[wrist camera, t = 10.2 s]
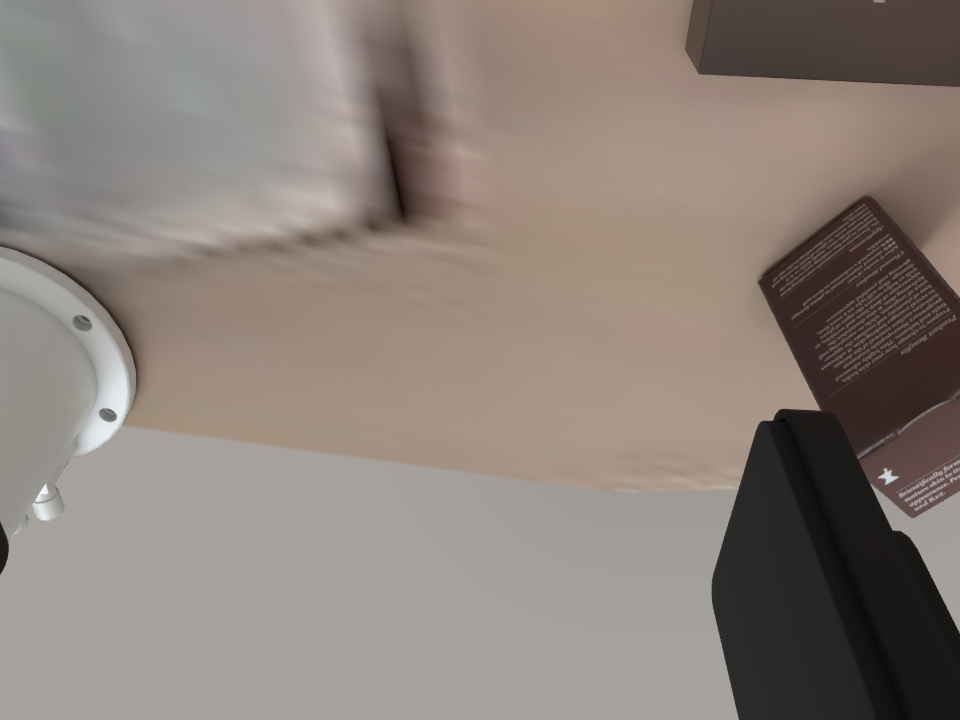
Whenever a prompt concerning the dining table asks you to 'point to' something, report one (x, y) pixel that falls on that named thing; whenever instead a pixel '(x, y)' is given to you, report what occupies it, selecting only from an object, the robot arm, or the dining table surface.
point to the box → (878, 350)
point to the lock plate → (828, 40)
